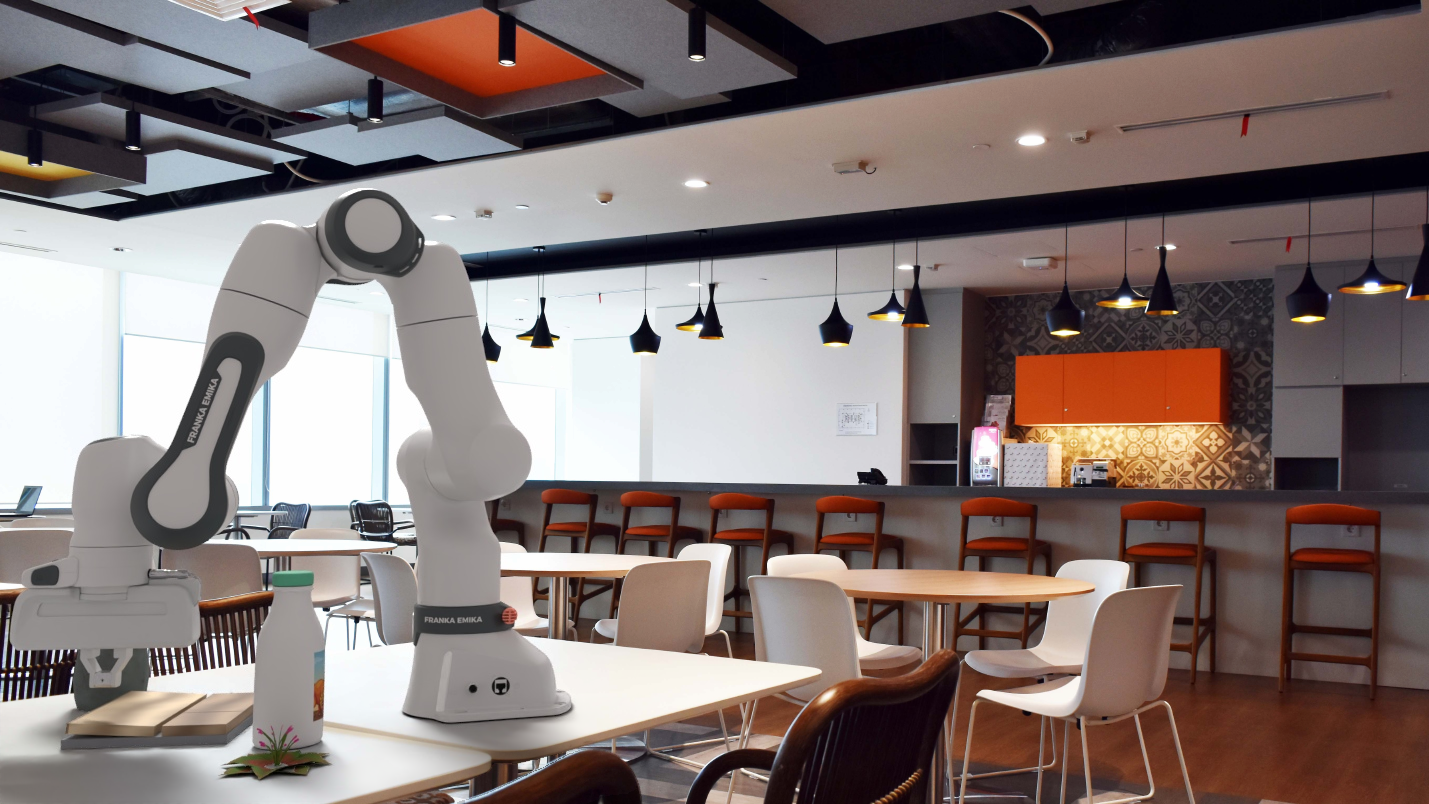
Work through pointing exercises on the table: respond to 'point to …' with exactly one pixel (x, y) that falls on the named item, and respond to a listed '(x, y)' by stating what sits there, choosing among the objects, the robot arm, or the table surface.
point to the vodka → (92, 698)
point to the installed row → (212, 715)
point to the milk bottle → (290, 666)
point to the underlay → (149, 739)
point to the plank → (134, 714)
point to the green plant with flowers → (275, 758)
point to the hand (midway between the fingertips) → (105, 686)
